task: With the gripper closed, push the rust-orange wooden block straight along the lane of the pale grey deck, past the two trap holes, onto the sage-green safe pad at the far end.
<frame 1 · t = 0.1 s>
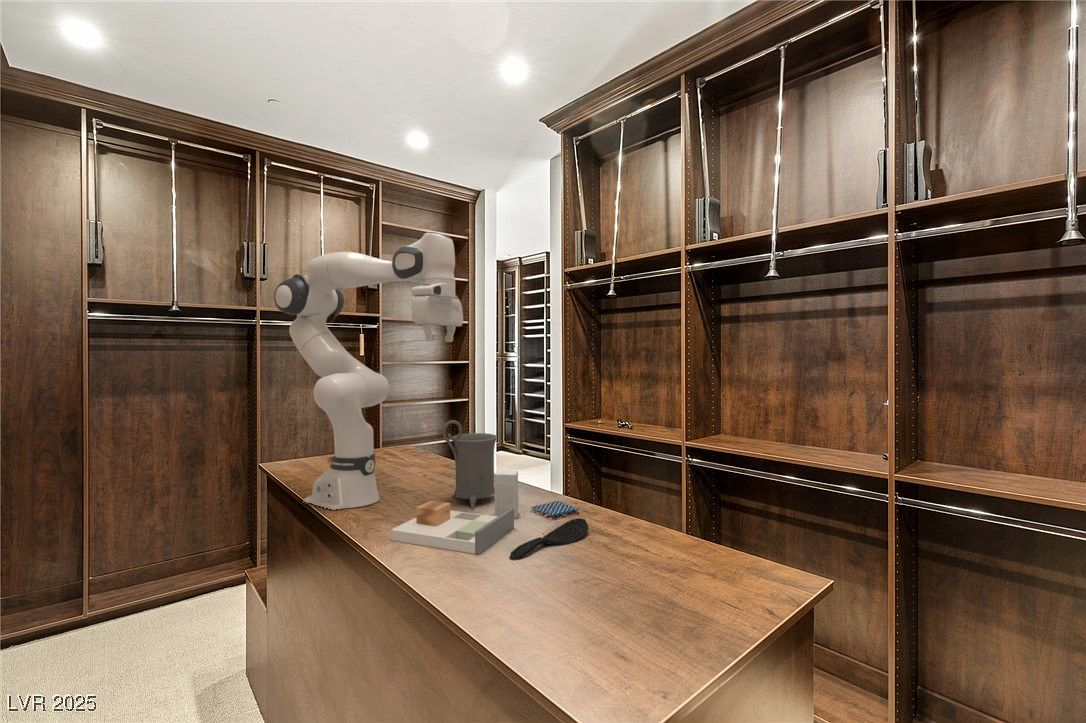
hand: (439, 341, 141), 48 cm above the closet island, fingers open, 8 cm apart
woven mat: (554, 514, 142), on the closet island
block: (433, 521, 127), point 2 cm above the closet island, touching trap deck
trap deck: (454, 534, 125), on the closet island
mug: (472, 502, 153), on the closet island
hairbrush: (549, 546, 119), on the closet island
skincare box: (506, 517, 139), on the closet island
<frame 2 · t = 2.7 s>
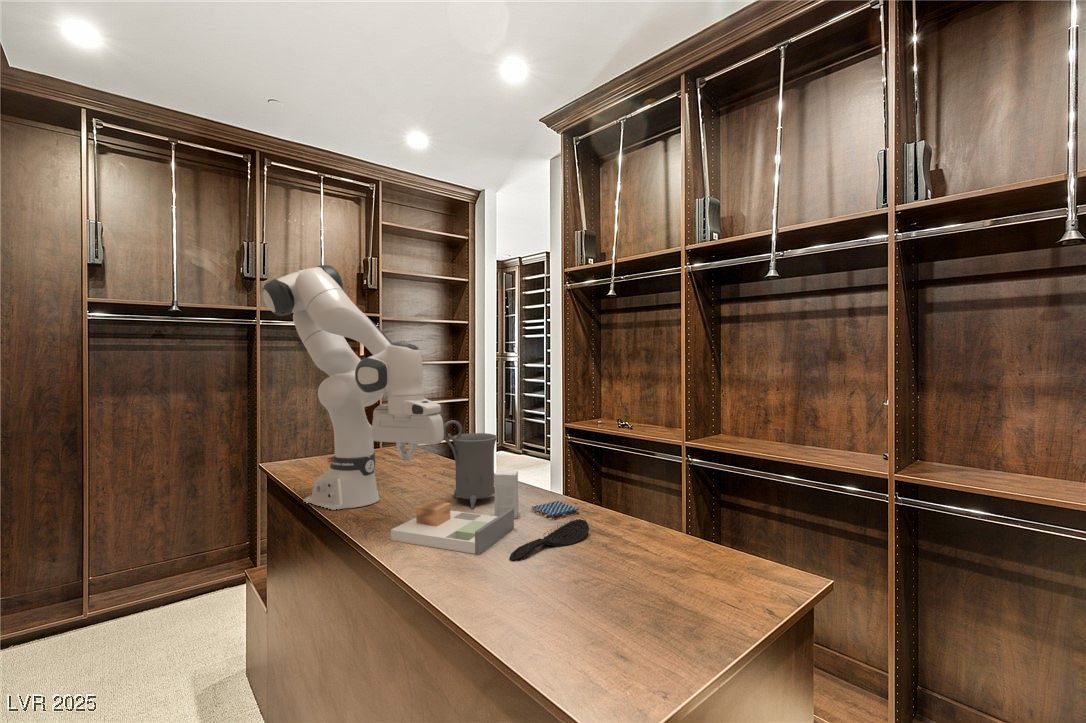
hand: (407, 460, 130), 17 cm above the closet island, fingers closed
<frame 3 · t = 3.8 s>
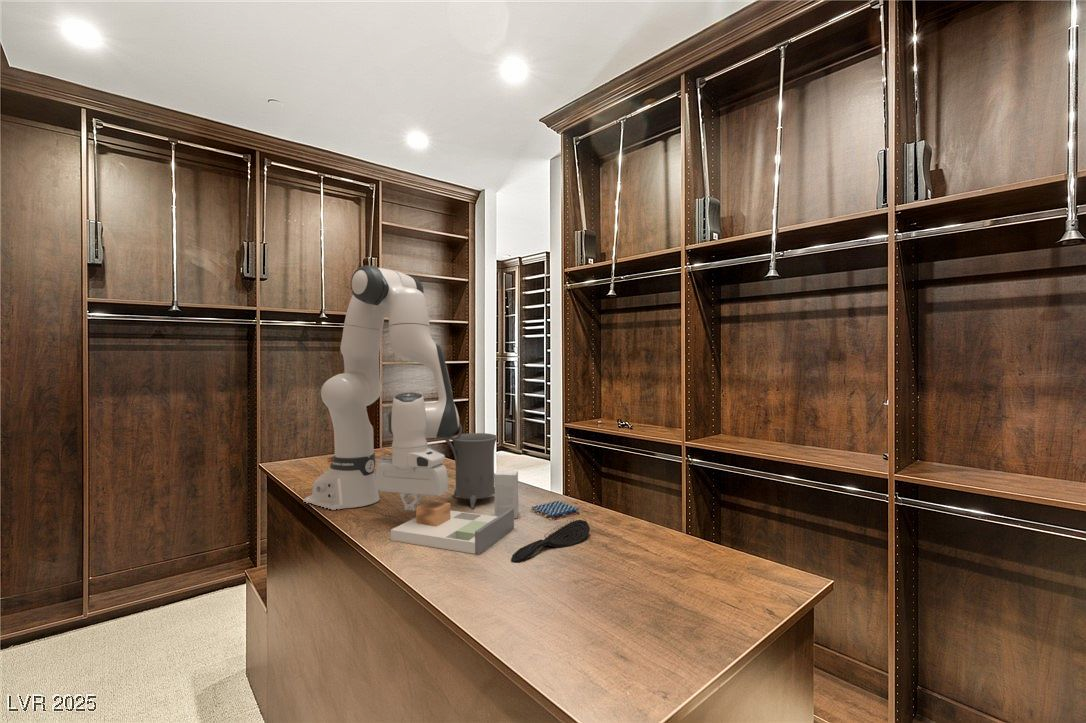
hand: (411, 510, 131), 4 cm above the closet island, fingers closed
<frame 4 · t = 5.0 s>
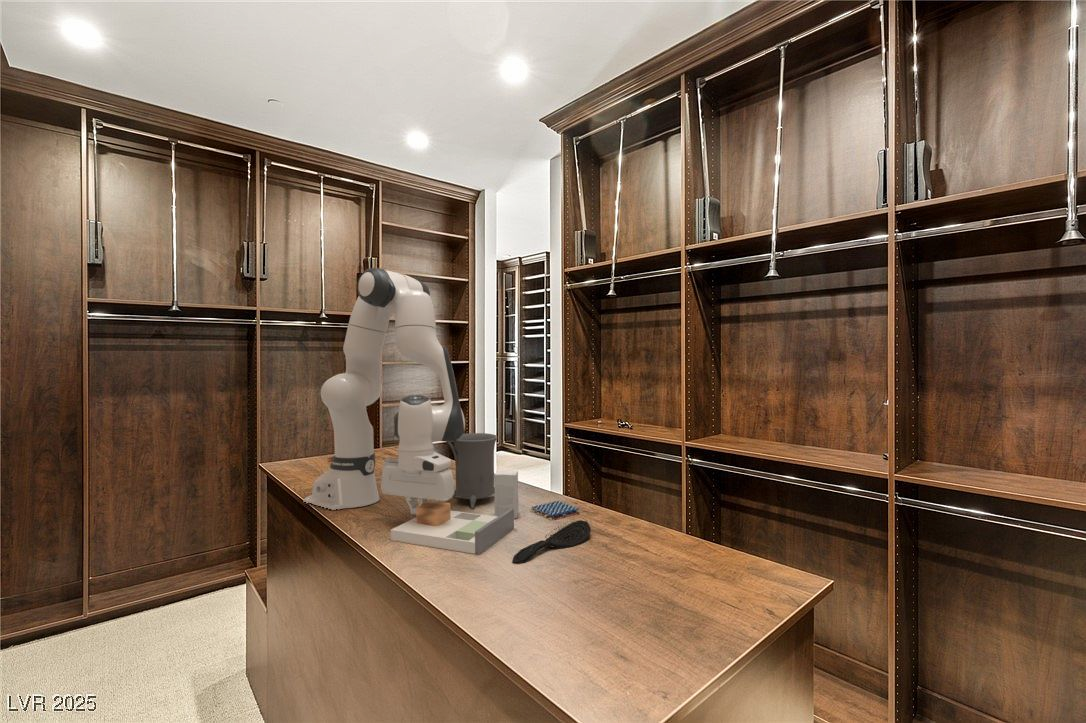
hand: (416, 514, 129), 4 cm above the closet island, fingers closed
block: (433, 521, 127), point 2 cm above the closet island, touching gripper, trap deck
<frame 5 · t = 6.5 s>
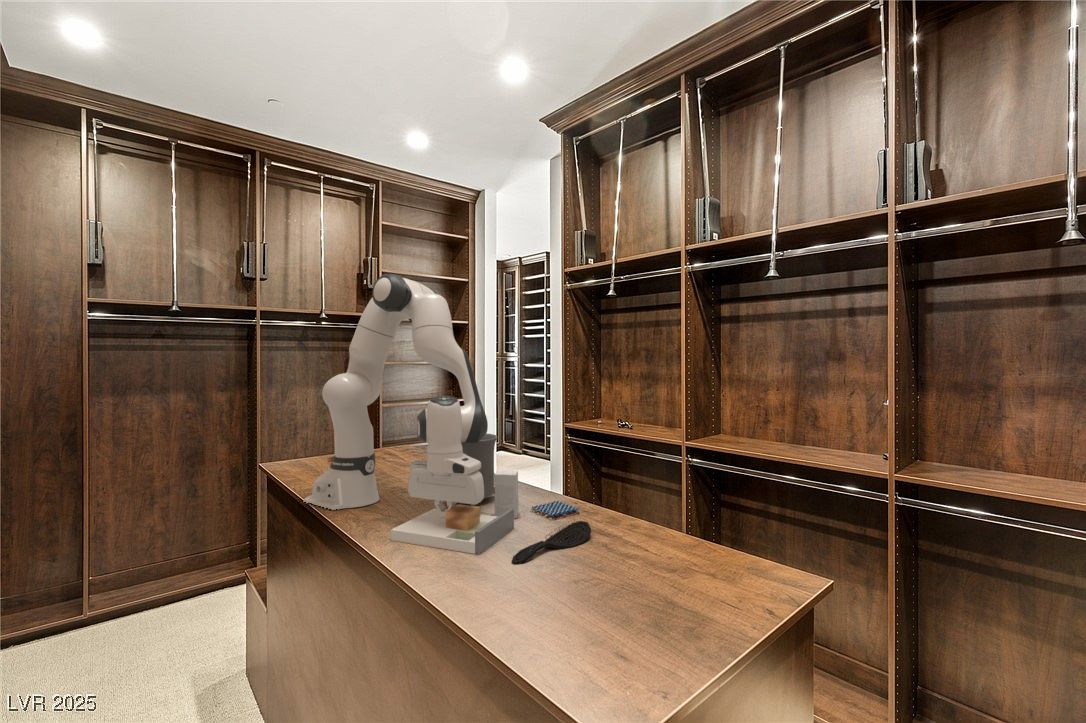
hand: (445, 517, 126), 4 cm above the closet island, fingers closed
block: (463, 525, 124), point 3 cm above the closet island, touching gripper
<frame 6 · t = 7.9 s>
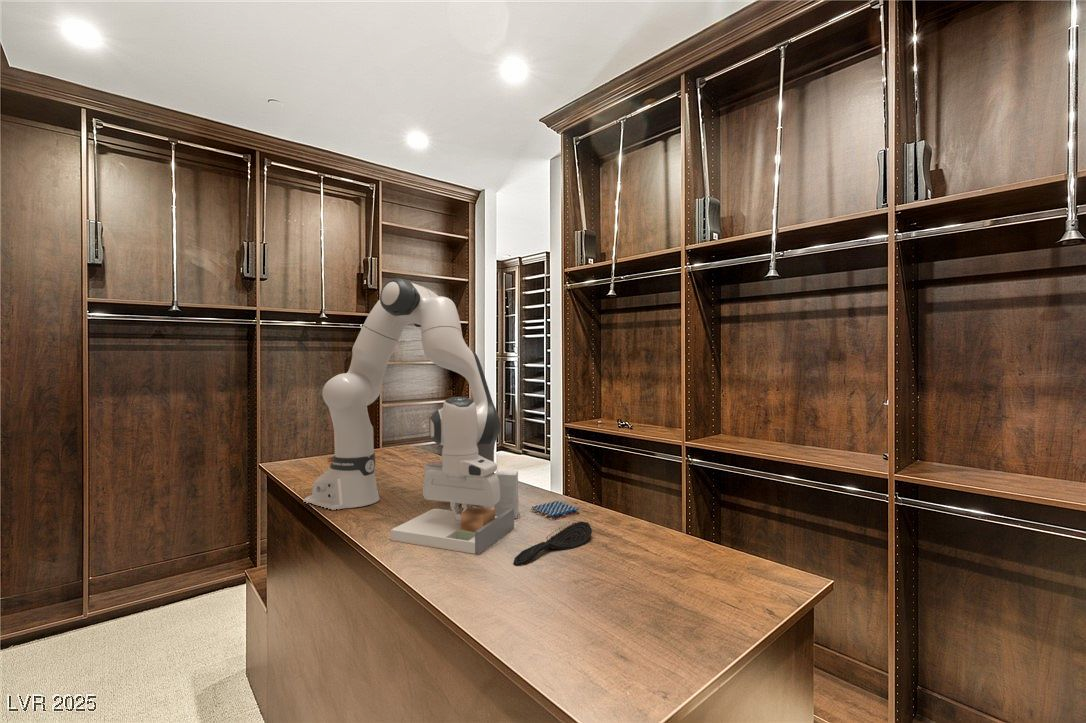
hand: (460, 520, 124), 4 cm above the closet island, fingers closed
block: (478, 527, 123), point 2 cm above the closet island, touching gripper, trap deck
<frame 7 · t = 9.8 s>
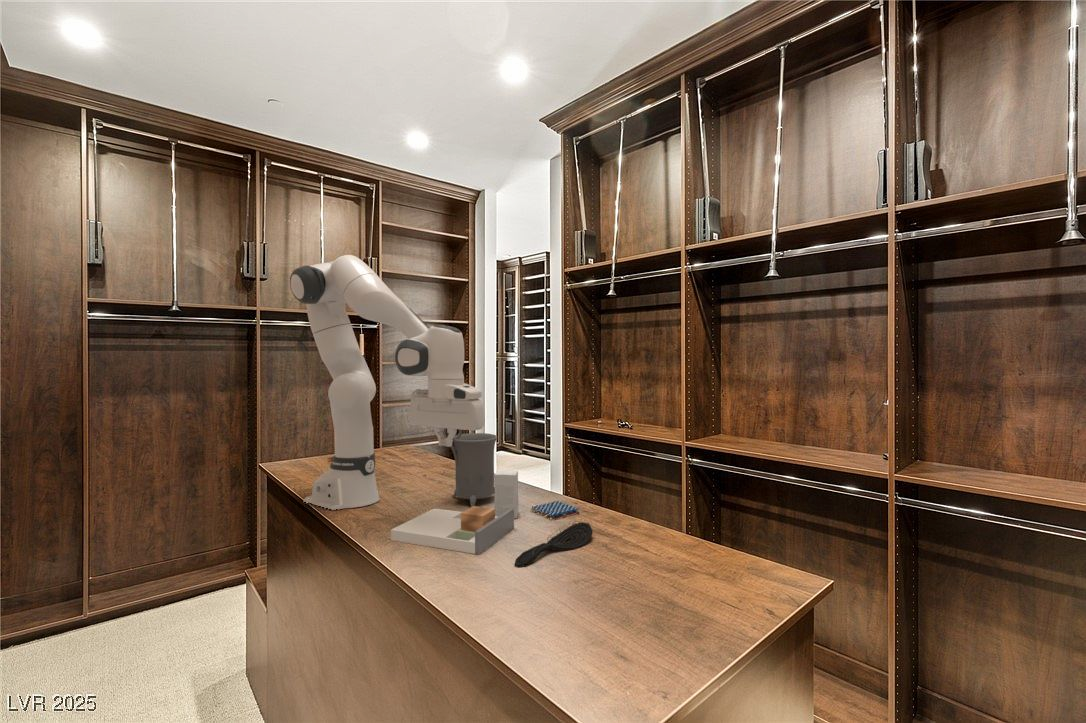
hand: (445, 446, 126), 22 cm above the closet island, fingers closed
block: (478, 527, 123), point 2 cm above the closet island, touching trap deck
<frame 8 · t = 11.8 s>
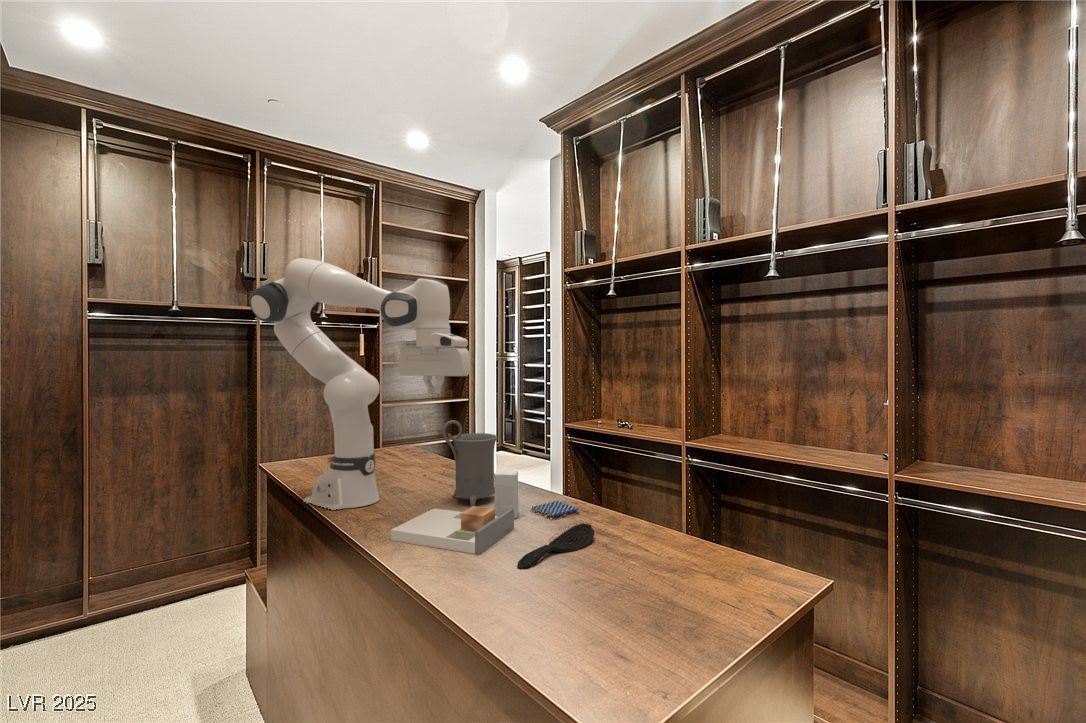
hand: (433, 393, 133), 34 cm above the closet island, fingers closed
at the end: block 0.3 cm from the target spot on the trap deck, point 2.5 cm above the trap deck's base; block tilted 0°; block moved 12.8 cm from its start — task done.
